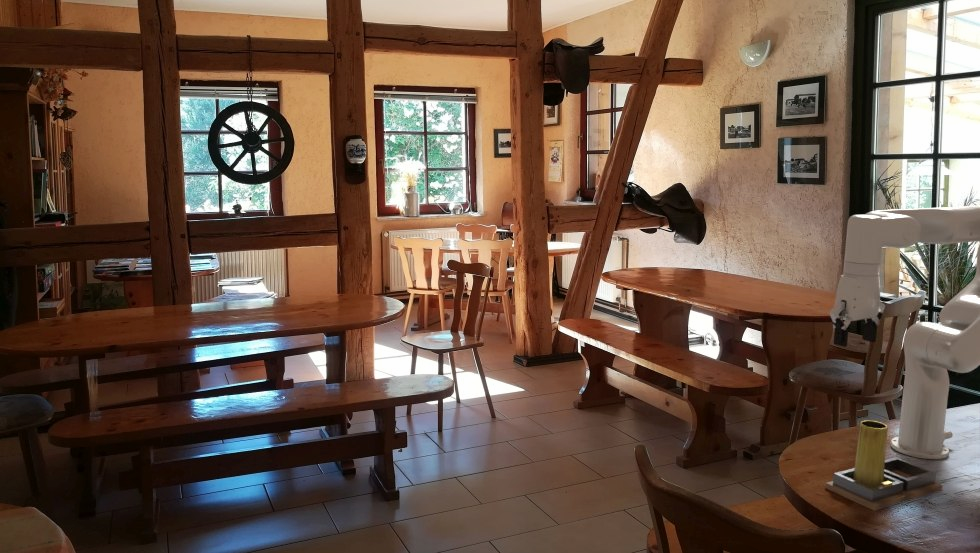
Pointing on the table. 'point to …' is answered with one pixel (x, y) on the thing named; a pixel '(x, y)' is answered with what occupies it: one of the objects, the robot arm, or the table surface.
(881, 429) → the vase
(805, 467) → the table surface
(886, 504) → the board
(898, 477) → the two-cubby wall shelf
